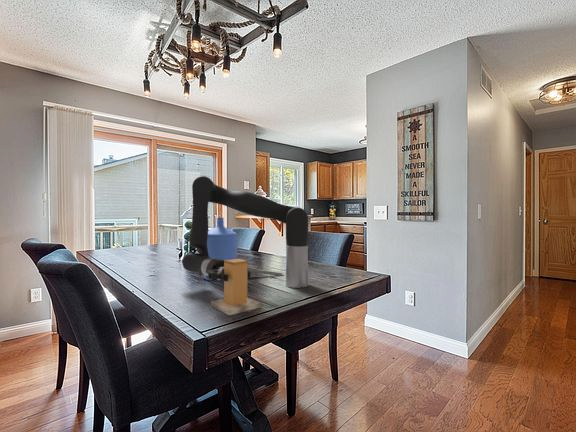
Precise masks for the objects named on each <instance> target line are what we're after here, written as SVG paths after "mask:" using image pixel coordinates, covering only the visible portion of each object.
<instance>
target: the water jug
mask: <svg viewBox="0 0 576 432" xmlns="http://www.w3.org/2000/svg"><path fill="white" fill-rule="evenodd" d="M216 219H217V220H216V227H214V228H211V229H210V230H209V229H208V239H207V248H208V254H209V257H212V258H218V259H221V260H231V259H238V257H237V256H238V255H237V254H238V252H237V251H238V250H237V249H238V248H237V247H238V233H237V232H235V231H234V230H232V229H229V228H227V227H225V225H224V224H225V221H224V219H225V218H224V217H217V218H216ZM202 276H203V279H204V280H207V281H212V280H210V279H208V278H206V275H203V274H202ZM213 282H218V281H217V280H214V281H213ZM221 282H224V281H223V280H222V281H221Z"/></svg>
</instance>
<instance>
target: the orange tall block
mask: <svg viewBox="0 0 576 432" xmlns="http://www.w3.org/2000/svg"><path fill="white" fill-rule="evenodd" d="M248 267H249V266H248V260H246V259H242V258H237V259H231V260H224V274H227V275H228V281H226V282H225V281H223V299H224V302H226V303H228V304H230V305H232V306H235V305H239V304H243V303H247V297H248V278H247V269H248Z"/></svg>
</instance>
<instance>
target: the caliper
mask: <svg viewBox="0 0 576 432" xmlns="http://www.w3.org/2000/svg"><path fill="white" fill-rule="evenodd" d="M248 268H249V269H248V271H250V272H251V274H253V275H257V274H262V275H263V274H264V275H270V276H276V275H281V276H284V274H283V273H282V272H277V271H271V270H263V269H258V268H257V267H256V268H255V267H249V266H248Z"/></svg>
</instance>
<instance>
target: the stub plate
mask: <svg viewBox="0 0 576 432" xmlns="http://www.w3.org/2000/svg"><path fill="white" fill-rule="evenodd" d="M210 307H212V308H214V309H217V310H218V311H220V312H222V313H223V314H225V315H228V316H232V315H237V314H241V313H244V312H248V311H253V310H257V309H260V308H261V307H262V303H261V302H259V301H258V300H257V301H256V300H255V299H252V298H249V297H248V296H247V303H243V304H239V305H235V306H232V305H230V304H228V303H226V302H224V298H220V299H216V300H211V301H210Z"/></svg>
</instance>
